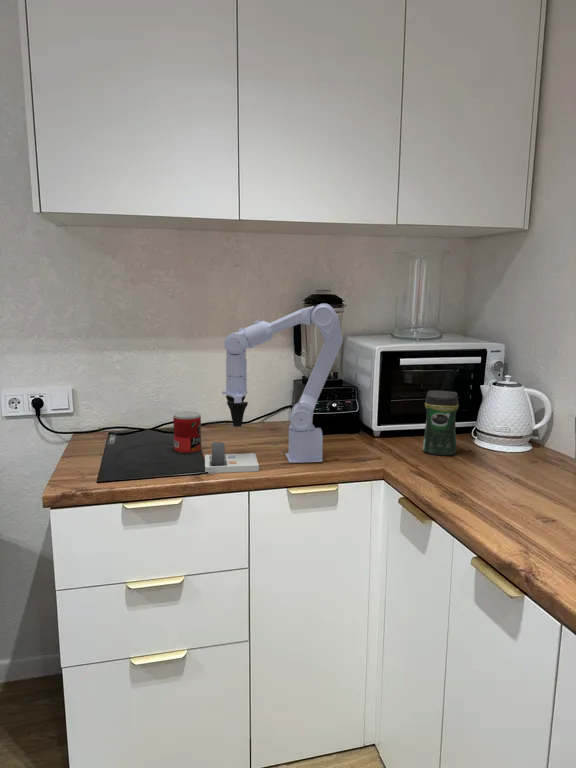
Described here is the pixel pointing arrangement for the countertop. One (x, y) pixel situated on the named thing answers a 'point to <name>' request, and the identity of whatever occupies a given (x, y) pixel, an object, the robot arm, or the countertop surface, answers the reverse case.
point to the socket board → (233, 463)
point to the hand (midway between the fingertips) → (236, 423)
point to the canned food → (187, 431)
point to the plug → (218, 454)
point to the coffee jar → (440, 422)
